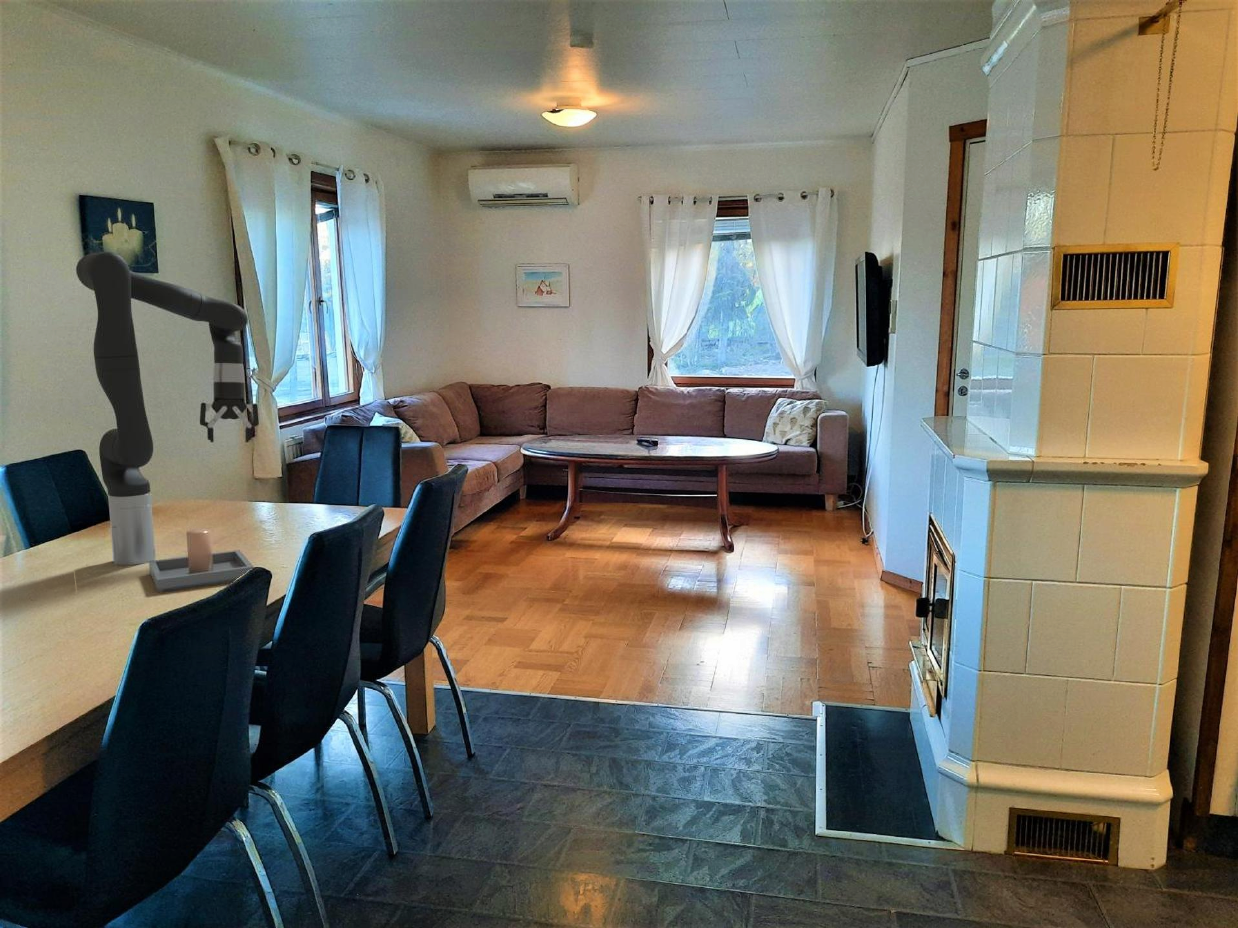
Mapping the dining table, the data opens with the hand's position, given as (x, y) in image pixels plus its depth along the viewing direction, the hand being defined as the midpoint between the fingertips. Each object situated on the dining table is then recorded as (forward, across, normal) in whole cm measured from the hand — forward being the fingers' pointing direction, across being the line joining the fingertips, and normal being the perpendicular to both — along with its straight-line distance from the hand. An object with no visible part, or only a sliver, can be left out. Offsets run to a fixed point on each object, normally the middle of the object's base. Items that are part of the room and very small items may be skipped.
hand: (229, 442), depth 232 cm
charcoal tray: (+31, -8, -28) cm, 42 cm away
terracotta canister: (+30, -8, -27) cm, 41 cm away
